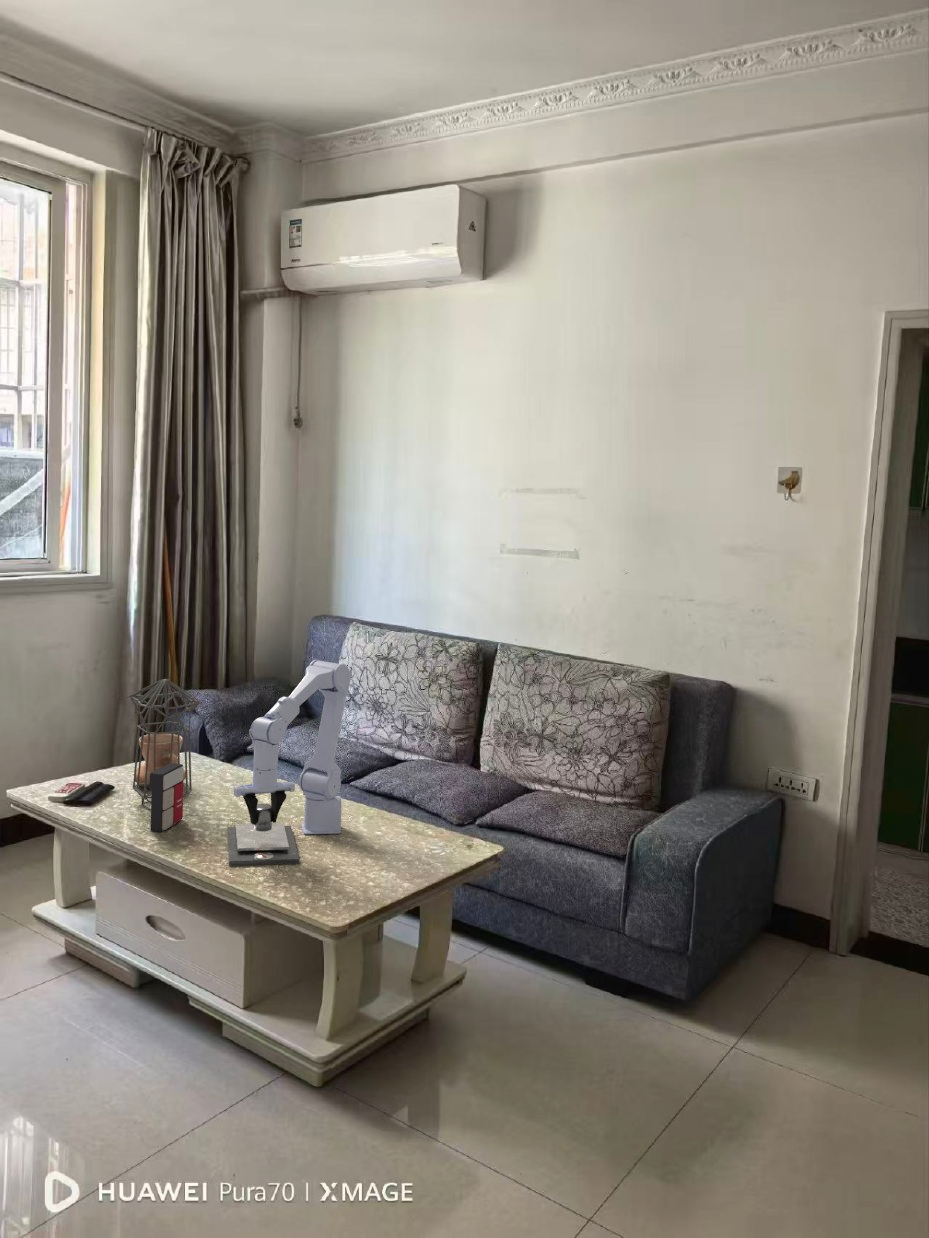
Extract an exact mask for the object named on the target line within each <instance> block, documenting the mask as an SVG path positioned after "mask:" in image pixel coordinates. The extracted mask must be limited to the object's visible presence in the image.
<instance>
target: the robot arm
mask: <svg viewBox="0 0 929 1238" xmlns="http://www.w3.org/2000/svg"><path fill="white" fill-rule="evenodd" d="M304 673H305V675H304V677H303V678H302V680H301V681H300V682H299V683H298V685H297V686H296V687H295V688H294V689H293V691H292V692H291V694H290V695H289V696H282V697H280V698H279V699H278V700H277V702H276V703H275V704H274V705H273V706H272V708H270V709H269V711H268V712H266V713H265V715H264V716H260V717H257V718H255V720H253V722H252V723H251V726H250V729H249V730H248V733H249V736H250V739H251V745H252V747H253V765H252V766H253V769H252V770H253V771H252V783H249V784H244V785H239V786H233V795H234V797H236V798H238V797H242V799H243V800H244V802H245V805H246V807H247V809H248V815H249V821H250V823H252V824H253V825H256V811H257V804H259V803H258V802H259V799H258V798H257V795H261V794H270V805H271V807H272V823H277V820H278V816H279V812H280V810H281V808H282V805H283V804H284V803H285V801H286V799H287V794H286V792H290V793H294V792H295V791H296V790H295V789H296V784H295V783H294V782H293V781H278V770H279V768H278V765H279V764H278V763H279V745H280V744H279V743H280V742H281V741H283V739H284V737H285V734H286V733H285V732H286V731H287V729H288V726H289V725H290V724H291V723H292V721H293V720H294V719H296V717H297V716H298V715H299V714H300V706H301V705H302V704H303V703H304V702H306V700H308V699H309V698H310V697H311V696H312V695H313V694H314V693H315V692H316V691H317V690H318V691H319V692H320V693H321V694H322V695H323V697H324V702H323V706H322V707H323V708H322V712H321V719H320V722H319V728H318V733H317V738H316V744H315V748H314V754H313V757H312V758H311V759H309V760H308V761H306V762H305V763H304V764H303V765H304V766H303V770H302V772H301V773H300V776H299V779H298V786H299V787H298V788H300V790H301V791H302V795H303V797H305V798H304V819H303V822H301V823H300V826H301V829H302V833H303V834H304V835H325V834H326V835H327V834H329V835H330V834H332V835H333V834H334V835H335V834H341V833H342V832H341V827H342V797H341V796H340V795H338V794H339V793H340V791H341V787H342V782H341V776H342V775H341V774H342V770H341V768H340V766H339V765H338V763H336V762H335V757H336V751H337V747H338V741H339V737H340V732H341V725H342V720H343V715H344V709H345V706H346V700H347V697H348V694H349V689H350V683H351V678H352V672H351V671H350V668H349V667H348V665H346V664H345V663H335V662H331V661H325V660H324V661H323V660H320V659H314V660H312V661H311V662H310V664H309V665H308V666H307V667H306V668H305V672H304Z"/></svg>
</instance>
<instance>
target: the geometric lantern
mask: <svg viewBox="0 0 929 1238" xmlns="http://www.w3.org/2000/svg"><path fill="white" fill-rule="evenodd" d="M161 691H162V693H161ZM168 691H169V693H168ZM144 692H146V693H144ZM142 693H144V695H143V694H142ZM160 693H161V694H160ZM140 694H142V695H140ZM177 694H179V695H181V697H182V700H183V705H179V704H178V702H177V700H176V697H175V696H177ZM168 696H170V697H169V698H168ZM158 697H160V698H161V699H160V704H158V705H156V704H155V703H156V701H157V700H158ZM129 698H130V701H131V702H132V704H133V706H134V713H135V714H136V713H137V715H139V721H140V724H138V725H136V727H137V736H136V737H137V738H136V746H135V747H136V748H135V761H134V772H133V781H132V783H133V784H132V789H133V791H135V792H136V793H137V794H138V795H139V796H140V798H141V805H140V806H142V807H144V808H145V809H147V810H149V811H151V807H149V806H147V805H145V804H151V800H150V799H151V793H150V794H147V788H146V785H149V783H147V772H148V759H149V746H150V734H152V735H154V771H155V770H156V734H171V751H170V763H172V750H173V734H176V735H177V741H178V757H177V758H178V764H181V759H180V758H181V756H180V755H181V749H180V741H179V736H180V733H183V737H184V738H183V739H184V740H183V744H184V745H183V747H184V770H185V775H186V778H185V784H184V788H185V792H183V799H184V798H185V797H186V796H188V795H189V794H190V793H192V789H193V787H192V785H193V784H192V761H191V759H192V758H191V757H192V756H191V755H192V754H191V750H192V749H191V715H192V712H193V711H194V710H196V708H197V707H199V705H201V704H202V701H200V700H199V699H198V698H196V697H194V696H193V694H190V693H189V692H187V691H186V690H184V689H183V688H182V687H180V686H179V685H177V684H176V683H174V682H173V681H171V680H170V679H168V678H164V679H160V680H158V681H155V682H154V683H152V684H150V685H148V686H146V687H144V688H142V689H140V690H138V691H136V692H134V693H131V695H128V696H126V699H129ZM154 698H155V699H154ZM147 699H149V700H148V701H146V700H147ZM153 700H154V701H153ZM163 700H164V703H163ZM171 700H173V703H174V705H175V706H168V703H169V702H170V701H171ZM143 703H144V704H143ZM140 706H141V707H143V709H142V711H140ZM161 708H162V709H164V711H165V713H164V712H163V711H162V710H160V709H161ZM181 708H183V710H182V711H181V712H179V713H178V709H181ZM151 709H153V710H155V711H156V712H158V713H159V714H160V715H162V716H164V717H165V719H164V720H163V721H162V722H161V721H160V722H150V723H146V720H147V717H148V715H149V712H150V710H151ZM146 710H147V711H146ZM168 710H175V715H174V714H173V715H171V714H170V712H169V711H168ZM145 711H146V713H145V715H144V717H143V714H144V712H145ZM186 712H189V716H188V717H189V718H188V719H189V720H188V727H186V726H185V725H183V723H182V722H183V721H182V718H183V716H184V714H185V713H186ZM174 718H177V721H176V720H175V719H174ZM167 719H171V720H172V721H167ZM169 723H170V724H171V731H167V732H166V731H164V732H158V731H159V730H160V728H161V727H162V726H163V725H164V724H169ZM159 724H160V725H159ZM149 725H159V726H158V728H157V729H156V730H155V731H154V732H151V731H149V729H148V726H149ZM175 725H176V726H177V729H176V731H174V730H175V729H174V728H175ZM180 726H181V728H182V730H180ZM140 733H141V734H140ZM145 734H146V735H148V744H147V757H146V762H145V763H146V770H145V783H143V784H139V778H140V768H141V766H142V759H143V755H142V748H143V738H144V735H145ZM140 735H141V736H140ZM140 737H141V747H140V745H139V738H140ZM187 740H188V741H187ZM187 743H188V745H187ZM187 746H188V751H187ZM139 749H140V750H139ZM138 757H139V758H138ZM137 766H138V768H137ZM137 769H138V778H137V783H136V782H135V781H136V770H137ZM142 785H144V787H143V786H142ZM140 787H143V792H142V790H141V789H140ZM145 800H146V801H145Z"/></svg>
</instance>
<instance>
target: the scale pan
mask: <svg viewBox="0 0 929 1238" xmlns="http://www.w3.org/2000/svg"><path fill="white" fill-rule="evenodd" d="M284 823H285V822H276V823H273V822H272V829H271V830H269V831H255V830H253V824H252V823H251V822H250V823H249V822H248V823H246V822H245V823H235V827H236V838H237V850H238V851H250V850H285V849H289V845H288V840H287V836H286V831H285V827H284V826H285V824H284Z"/></svg>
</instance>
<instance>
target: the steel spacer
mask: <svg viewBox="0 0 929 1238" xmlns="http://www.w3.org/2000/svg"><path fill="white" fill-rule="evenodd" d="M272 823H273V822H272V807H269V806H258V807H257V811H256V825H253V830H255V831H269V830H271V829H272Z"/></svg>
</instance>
